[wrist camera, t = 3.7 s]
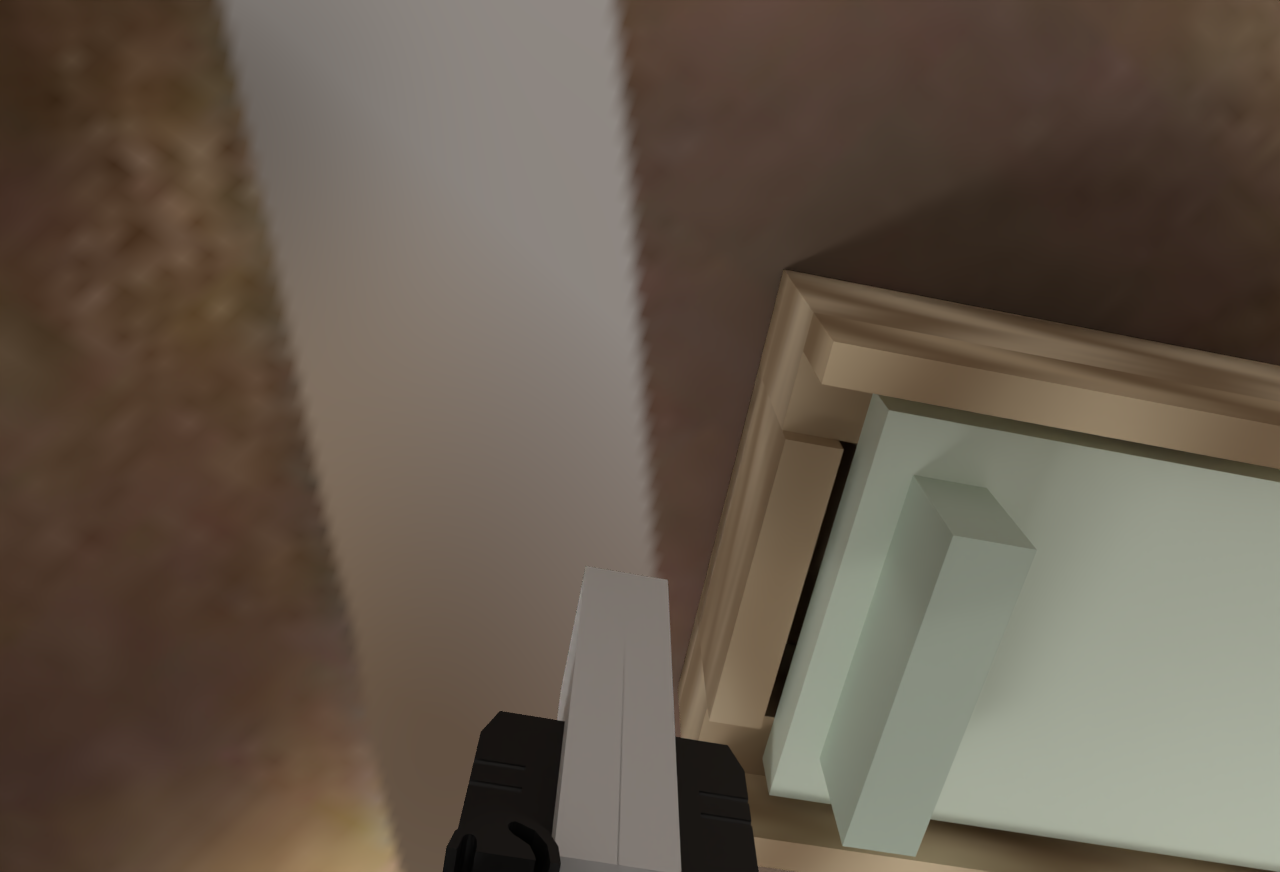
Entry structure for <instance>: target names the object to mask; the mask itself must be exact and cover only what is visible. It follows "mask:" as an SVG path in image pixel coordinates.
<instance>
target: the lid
mask: <svg viewBox="0 0 1280 872" xmlns="http://www.w3.org/2000/svg"><path fill="white" fill-rule="evenodd" d="M762 759H763V765H764V770H765V776H766V781H767V787H768V792H769V795H772V796H779V797H786V798H792V799H799V800H806V801H812V802H819V803H825V804H831V805H832V808H833V812H834V816H835V820H836V824H837V827H838V831H839V835H840V839H841V843H842V846H846V847H853V848H859V849H866V850H873V851H880V852H887V853H893V854H900V855H907V856H914V857H916V854H917V852H918V849H919V847H920V844H921V842H922V839H923V837H924V834H925V832H926V829H927V826H928V824H929V821H930V819H931V820H938V821H945V822H951V823H958V824H965V825H971V826H978V827H984V828H991V829H998V830H1004V831H1011V832H1018V833H1024V834H1031V835H1037V836H1044V837H1051V838H1057V839H1064V840H1071V841H1077V842H1084V843H1090V844H1097V845H1104V846H1110V847H1117V848H1124V849H1130V850H1137V851H1143V852H1150V853H1157V854H1163V855H1170V856H1177V857H1183V858H1190V859H1196V860H1203V861H1210V862H1216V863H1223V864H1230V865H1236V866H1243V867H1249V868H1256V869H1263V870H1269V871H1276V872H1280V469H1276V468H1271V467H1265V466H1260V465H1255V464H1249V463H1244V462H1239V461H1233V460H1228V459H1222V458H1217V457H1212V456H1206V455H1201V454H1195V453H1190V452H1185V451H1179V450H1174V449H1169V448H1163V447H1158V446H1152V445H1147V444H1142V443H1136V442H1131V441H1126V440H1120V439H1115V438H1109V437H1104V436H1099V435H1093V434H1088V433H1083V432H1077V431H1072V430H1066V429H1061V428H1056V427H1050V426H1045V425H1039V424H1034V423H1029V422H1023V421H1018V420H1013V419H1007V418H1002V417H996V416H991V415H986V414H980V413H975V412H970V411H964V410H959V409H953V408H948V407H943V406H937V405H932V404H927V403H921V402H916V401H910V400H905V399H900V398H894V397H889V396H883V395H878V394H872V398H871V401H870V404H869V408H868V411H867V414H866V418H865V421H864V424H863V427H862V431H861V434H860V437H859V441H858V444H857V447H856V451H855V454H854V457H853V460H852V464H851V467H850V470H849V474H848V477H847V480H846V484H845V487H844V490H843V494H842V497H841V500H840V503H839V507H838V510H837V513H836V517H835V520H834V523H833V527H832V530H831V533H830V536H829V540H828V543H827V546H826V550H825V553H824V556H823V560H822V563H821V566H820V569H819V573H818V576H817V579H816V583H815V586H814V589H813V593H812V596H811V599H810V603H809V606H808V609H807V612H806V616H805V619H804V622H803V626H802V629H801V632H800V636H799V639H798V642H797V645H796V649H795V652H794V655H793V659H792V662H791V665H790V669H789V672H788V675H787V678H786V682H785V685H784V688H783V692H782V695H781V698H780V702H779V705H778V708H777V712H776V715H775V718H774V721H773V725H772V728H771V731H770V735H769V738H768V741H767V745H766V748H765V751H764V754H763V758H762Z"/></svg>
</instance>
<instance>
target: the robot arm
mask: <svg viewBox="0 0 1280 872" xmlns="http://www.w3.org/2000/svg"><path fill="white" fill-rule="evenodd" d="M443 872H759V871H758V864H757V856H756V849H755V842H754V835H753V828H752V826H751V814H750V806H749V803H748V792H747V785H746V778H745V771H744V769H743V768H742V766H741V765H740V763H739V762H738V760H737V758H736V757H735V755H734V754H733V752H732V751H731V749H730V748H729V746H728V745H723V744H717V743H711V742H705V741H698V740H692V739H686V738H680V737H675V723H674V702H673V680H672V659H671V637H670V615H669V594H668V580H665V579H660V578H654V577H648V576H642V575H636V574H630V573H625V572H619V571H613V570H607V569H601V568H595V567H590V566H586V567H585V571H584V577H583V581H582V586H581V592H580V597H579V601H578V607H577V612H576V617H575V622H574V627H573V632H572V637H571V642H570V647H569V652H568V657H567V662H566V667H565V672H564V677H563V682H562V687H561V694H560V702H559V709H558V717H557V720H553V719H546V718H540V717H534V716H527V715H522V714H515V713H509V712H503V711H500V712H499V713H498V714H497V715H496V716H495V717H494V718H493V719H492V720H491V722H490V723H489V724H488V725H487V726H486V727H485V728H484V729H483V730H482V731H481V734H480V738H479V742H478V746H477V751H476V755H475V760H474V763H473V768H472V772H471V776H470V781H469V785H468V789H467V793H466V797H465V801H464V806H463V810H462V814H461V819H460V823H459V827H458V829H457V830H456V831H455V832H454V834H453V836H452V838H451V840H450V842H449V843H448V845H447V848H446V855H445V861H444V867H443Z"/></svg>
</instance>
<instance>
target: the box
mask: <svg viewBox="0 0 1280 872" xmlns="http://www.w3.org/2000/svg"><path fill="white" fill-rule="evenodd" d="M872 394H878V395H883V396H889V397H894V398H900V399H905V400H910V401H916V402H921V403H927V404H932V405H937V406H943V407H948V408H953V409H959V410H964V411H970V412H975V413H980V414H986V415H991V416H996V417H1002V418H1007V419H1013V420H1018V421H1023V422H1029V423H1034V424H1039V425H1045V426H1050V427H1056V428H1061V429H1066V430H1072V431H1077V432H1083V433H1088V434H1093V435H1099V436H1104V437H1109V438H1115V439H1120V440H1126V441H1131V442H1136V443H1142V444H1147V445H1152V446H1158V447H1163V448H1169V449H1174V450H1179V451H1185V452H1190V453H1195V454H1201V455H1206V456H1212V457H1217V458H1222V459H1228V460H1233V461H1239V462H1244V463H1249V464H1255V465H1260V466H1265V467H1271V468H1276V469H1280V366H1278V365H1273V364H1268V363H1263V362H1258V361H1252V360H1247V359H1242V358H1237V357H1232V356H1227V355H1222V354H1217V353H1211V352H1206V351H1201V350H1196V349H1191V348H1186V347H1181V346H1175V345H1170V344H1165V343H1160V342H1155V341H1150V340H1145V339H1140V338H1134V337H1129V336H1124V335H1119V334H1114V333H1109V332H1104V331H1099V330H1093V329H1088V328H1083V327H1078V326H1073V325H1068V324H1063V323H1057V322H1052V321H1047V320H1042V319H1037V318H1032V317H1027V316H1022V315H1016V314H1011V313H1006V312H1001V311H996V310H991V309H986V308H980V307H975V306H970V305H965V304H960V303H955V302H950V301H945V300H939V299H934V298H929V297H924V296H919V295H914V294H909V293H904V292H898V291H893V290H888V289H883V288H878V287H873V286H868V285H862V284H857V283H852V282H847V281H842V280H837V279H832V278H827V277H821V276H816V275H811V274H806V273H801V272H796V271H791V270H785V269H784V270H783V273H782V277H781V281H780V285H779V289H778V293H777V297H776V301H775V305H774V309H773V313H772V317H771V321H770V325H769V329H768V333H767V337H766V341H765V345H764V349H763V353H762V357H761V360H760V364H759V368H758V372H757V376H756V380H755V384H754V388H753V392H752V396H751V400H750V404H749V408H748V412H747V416H746V420H745V424H744V428H743V432H742V436H741V440H740V444H739V447H738V451H737V455H736V459H735V463H734V467H733V471H732V475H731V479H730V483H729V487H728V491H727V495H726V499H725V503H724V507H723V511H722V515H721V519H720V523H719V527H718V530H717V534H716V538H715V542H714V546H713V550H712V554H711V558H710V562H709V566H708V570H707V574H706V578H705V582H704V586H703V590H702V594H701V598H700V602H699V606H698V610H697V614H696V617H695V621H694V625H693V629H692V633H691V637H690V641H689V645H688V649H687V653H686V657H685V661H684V665H683V669H682V673H681V677H680V681H679V685H678V700H679V715H680V729H681V738H686V739H692V740H698V741H705V742H711V743H717V744H723V745H728V746H729V748H730V749H731V751H732V752H733V754H734V755H735V757H736V758H737V760H738V762H739V763H740V765H741V766H742V768H743V769H744V771H745V778H746V785H747V792H748V803H749V806H750V814H751V826H752V828H753V835H754V842H755V849H756V856H757V864H758V866H761V867H768V868H775V869H782V870H789V871H796V872H1276V871H1269V870H1263V869H1256V868H1249V867H1243V866H1236V865H1230V864H1223V863H1216V862H1210V861H1203V860H1196V859H1190V858H1183V857H1177V856H1170V855H1163V854H1157V853H1150V852H1143V851H1137V850H1130V849H1124V848H1117V847H1110V846H1104V845H1097V844H1090V843H1084V842H1077V841H1071V840H1064V839H1057V838H1051V837H1044V836H1037V835H1031V834H1024V833H1018V832H1011V831H1004V830H998V829H991V828H984V827H978V826H971V825H965V824H958V823H951V822H945V821H938V820H931V819H930V821H929V824H928V826H927V829H926V832H925V834H924V837H923V839H922V842H921V844H920V847H919V849H918V852H917V854H916V857H914V856H907V855H900V854H893V853H887V852H880V851H873V850H866V849H859V848H853V847H846V846H842V843H841V839H840V835H839V831H838V827H837V824H836V820H835V816H834V812H833V808H832V805H831V804H825V803H819V802H812V801H806V800H799V799H792V798H786V797H779V796H772V795H769V792H768V787H767V781H766V776H765V770H764V765H763V759H762V758H763V754H764V751H765V748H766V745H767V741H768V738H769V735H770V731H771V728H772V725H773V721H774V718H775V715H776V712H777V708H778V705H779V702H780V698H781V695H782V692H783V688H784V685H785V682H786V678H787V675H788V672H789V669H790V665H791V662H792V659H793V655H794V652H795V649H796V645H797V642H798V639H799V636H800V632H801V629H802V626H803V622H804V619H805V616H806V612H807V609H808V606H809V603H810V599H811V596H812V593H813V589H814V586H815V583H816V579H817V576H818V573H819V569H820V566H821V563H822V560H823V556H824V553H825V550H826V546H827V543H828V540H829V536H830V533H831V530H832V527H833V523H834V520H835V517H836V513H837V510H838V507H839V503H840V500H841V497H842V494H843V490H844V487H845V484H846V480H847V477H848V474H849V470H850V467H851V464H852V460H853V457H854V454H855V451H856V447H857V444H858V441H859V437H860V434H861V431H862V427H863V424H864V421H865V418H866V414H867V411H868V408H869V404H870V401H871V398H872Z"/></svg>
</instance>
